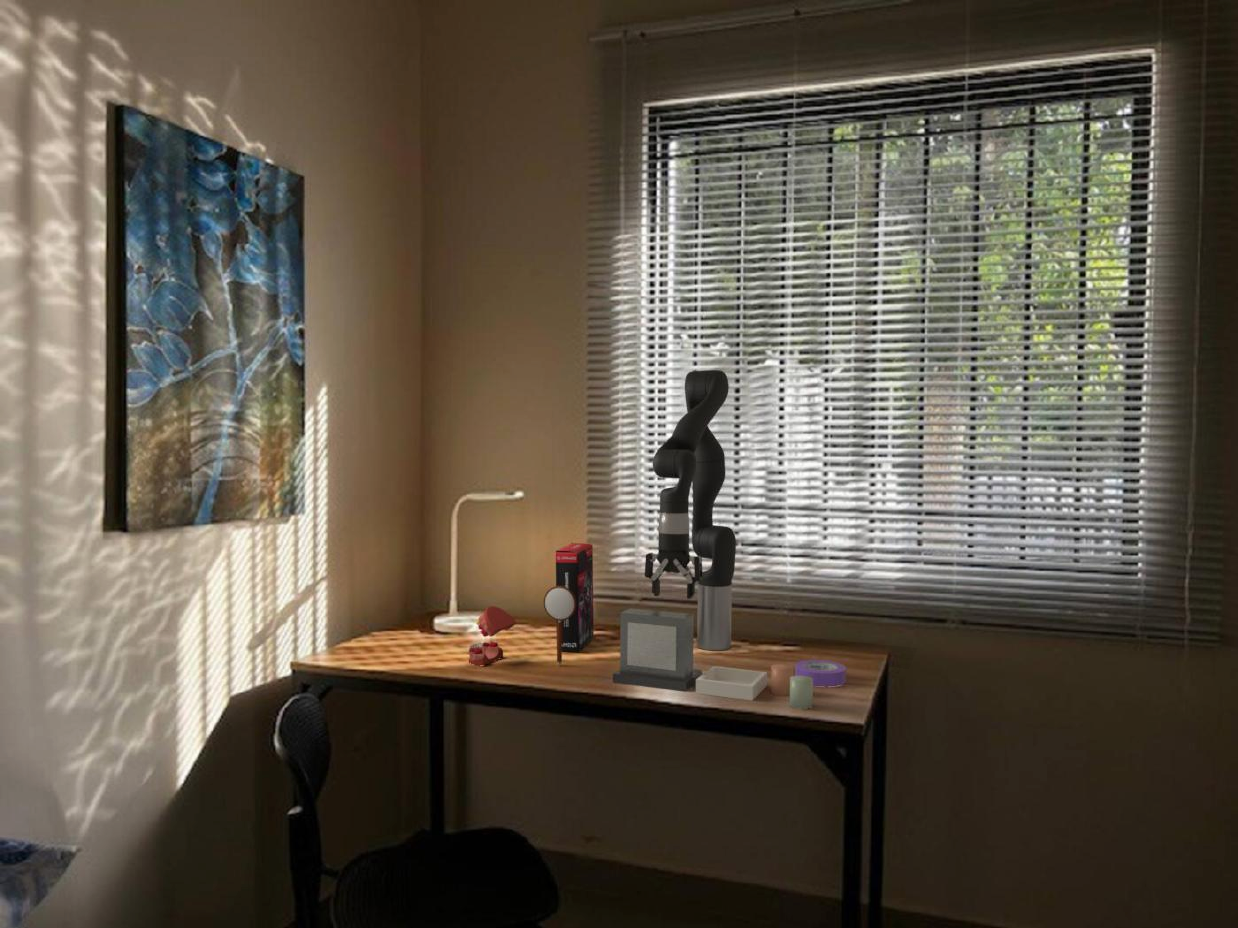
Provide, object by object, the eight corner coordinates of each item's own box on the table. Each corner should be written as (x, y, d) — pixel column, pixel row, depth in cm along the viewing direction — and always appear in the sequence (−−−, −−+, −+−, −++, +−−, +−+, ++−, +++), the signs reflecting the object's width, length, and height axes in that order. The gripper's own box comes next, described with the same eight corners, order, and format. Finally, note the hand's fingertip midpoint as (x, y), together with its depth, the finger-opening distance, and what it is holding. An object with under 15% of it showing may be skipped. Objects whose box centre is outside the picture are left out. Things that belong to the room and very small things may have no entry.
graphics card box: (579, 653, 237) (580, 550, 236) (553, 652, 239) (554, 549, 238) (594, 639, 254) (594, 543, 253) (570, 638, 255) (571, 542, 254)
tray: (712, 679, 214) (713, 666, 213) (766, 685, 208) (767, 672, 208) (695, 693, 202) (695, 679, 201) (752, 700, 196) (752, 686, 196)
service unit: (632, 669, 221) (632, 605, 221) (702, 678, 214) (703, 611, 214) (612, 681, 210) (613, 613, 210) (685, 691, 203) (686, 620, 203)
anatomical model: (475, 651, 235) (494, 600, 233) (500, 665, 233) (520, 614, 230) (454, 661, 226) (474, 608, 223) (480, 676, 223) (501, 622, 220)
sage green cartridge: (792, 701, 196) (792, 674, 196) (814, 704, 194) (814, 676, 194) (787, 707, 192) (787, 679, 191) (810, 710, 190) (810, 682, 189)
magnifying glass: (576, 666, 224) (577, 586, 223) (574, 668, 222) (574, 587, 222) (544, 663, 227) (545, 584, 226) (542, 664, 225) (542, 585, 225)
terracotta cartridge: (773, 689, 206) (774, 663, 205) (794, 691, 204) (795, 665, 204) (768, 694, 201) (769, 667, 201) (790, 697, 199) (790, 670, 199)
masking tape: (852, 688, 208) (853, 671, 208) (803, 689, 207) (803, 672, 207) (836, 675, 219) (836, 659, 219) (789, 675, 218) (789, 659, 218)
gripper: (706, 531, 221) (705, 596, 221) (652, 528, 226) (651, 592, 227) (696, 533, 214) (696, 601, 214) (641, 530, 220) (640, 597, 220)
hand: (673, 596), depth 221 cm, fingers open, 8 cm apart
